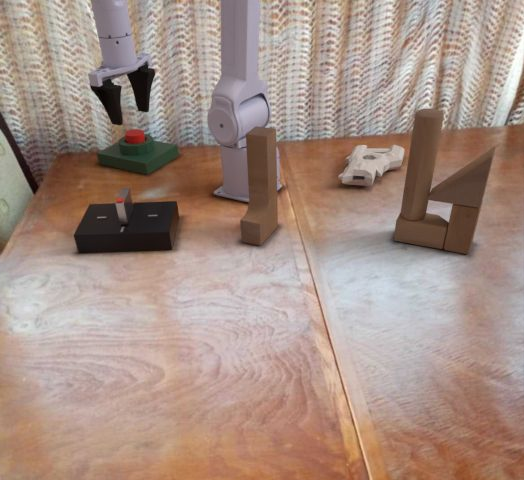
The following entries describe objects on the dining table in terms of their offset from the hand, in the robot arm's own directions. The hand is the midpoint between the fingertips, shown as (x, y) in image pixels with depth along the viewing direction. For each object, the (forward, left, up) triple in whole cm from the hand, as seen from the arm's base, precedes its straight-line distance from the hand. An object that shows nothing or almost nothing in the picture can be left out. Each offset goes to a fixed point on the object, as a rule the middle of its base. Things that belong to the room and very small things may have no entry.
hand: (130, 117), depth 100 cm
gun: (-43, -14, -8) cm, 46 cm away
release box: (0, 0, -8) cm, 8 cm away
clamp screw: (-18, +24, -5) cm, 30 cm away
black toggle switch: (-18, +24, -8) cm, 31 cm away
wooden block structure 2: (-60, +6, -8) cm, 61 cm away
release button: (0, 0, -5) cm, 5 cm away
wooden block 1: (-36, +15, -8) cm, 40 cm away
